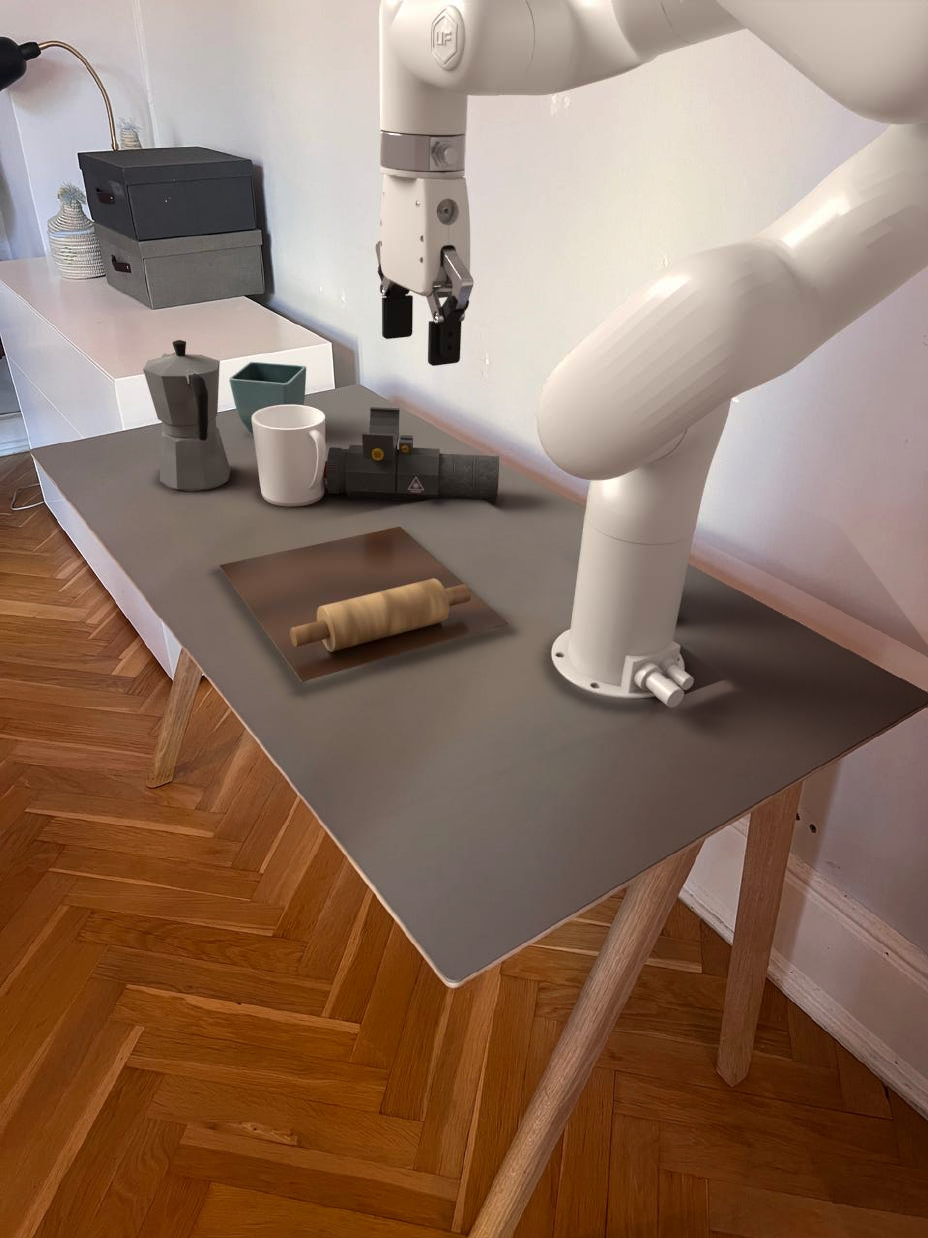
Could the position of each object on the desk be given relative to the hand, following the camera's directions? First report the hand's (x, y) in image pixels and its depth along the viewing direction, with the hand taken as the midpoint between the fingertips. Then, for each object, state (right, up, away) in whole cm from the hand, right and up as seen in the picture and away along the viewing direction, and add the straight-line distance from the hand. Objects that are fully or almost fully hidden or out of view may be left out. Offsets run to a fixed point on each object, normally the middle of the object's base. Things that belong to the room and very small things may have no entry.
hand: (419, 349), depth 90 cm
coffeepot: (-31, -8, +30) cm, 44 cm away
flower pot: (-24, +1, +46) cm, 52 cm away
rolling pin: (-4, -26, 0) cm, 26 cm away
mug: (-17, -11, +27) cm, 34 cm away
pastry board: (-7, -25, +6) cm, 26 cm away
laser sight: (-3, -11, +29) cm, 31 cm away
